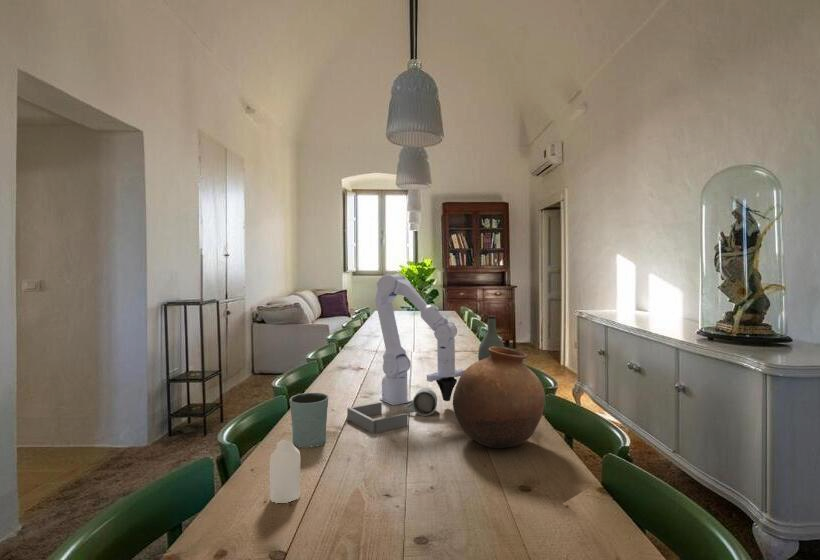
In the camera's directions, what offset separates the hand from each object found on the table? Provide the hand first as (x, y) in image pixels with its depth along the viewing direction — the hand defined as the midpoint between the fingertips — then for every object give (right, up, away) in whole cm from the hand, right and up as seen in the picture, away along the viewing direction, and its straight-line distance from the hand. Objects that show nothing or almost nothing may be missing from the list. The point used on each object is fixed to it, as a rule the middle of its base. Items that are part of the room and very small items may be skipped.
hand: (446, 400), depth 159 cm
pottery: (+11, -3, -33) cm, 35 cm away
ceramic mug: (-8, -3, -5) cm, 10 cm away
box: (-22, -3, -15) cm, 27 cm away
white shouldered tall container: (-37, -4, -62) cm, 72 cm away
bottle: (+15, -2, +2) cm, 16 cm away
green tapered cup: (-39, -4, -31) cm, 49 cm away
